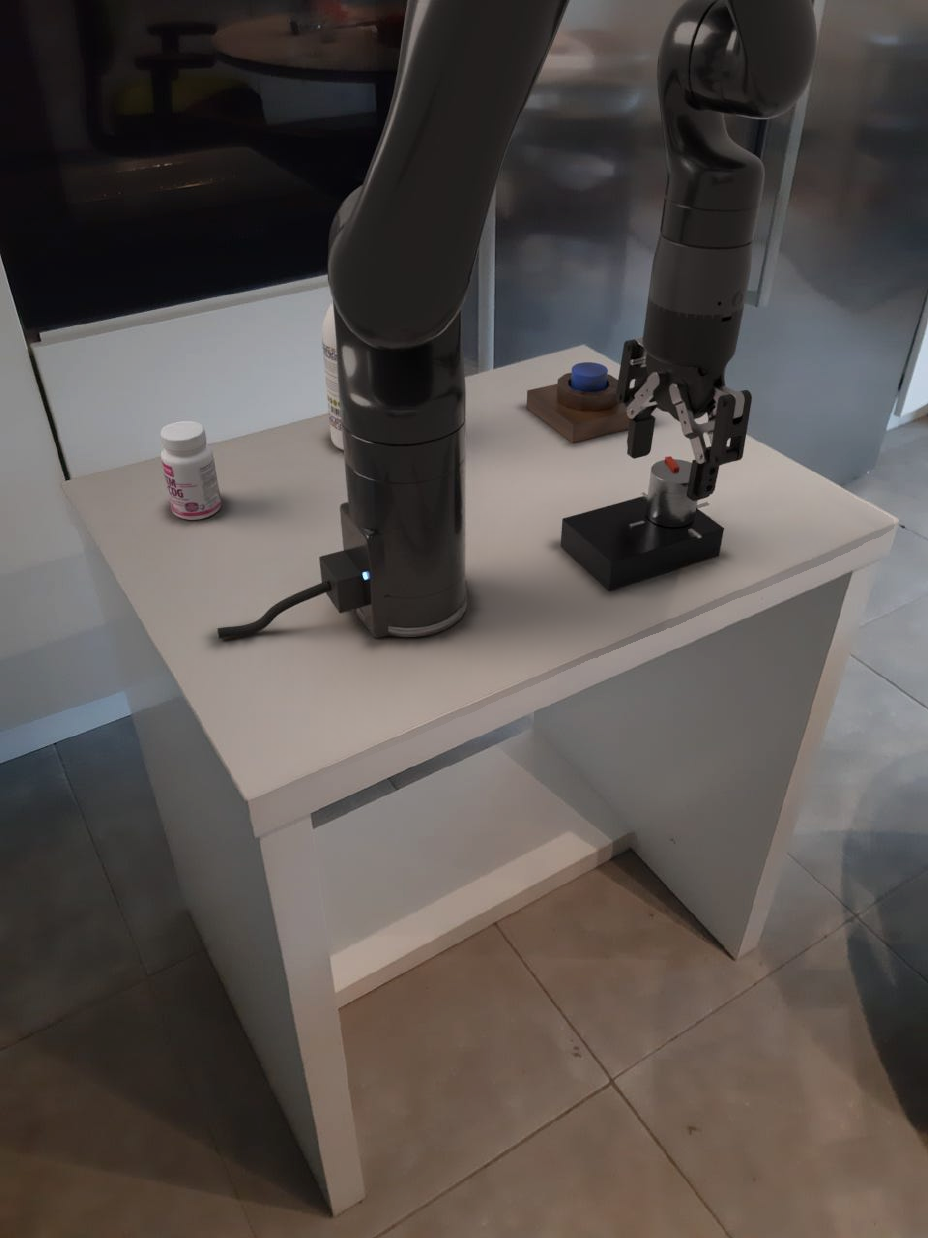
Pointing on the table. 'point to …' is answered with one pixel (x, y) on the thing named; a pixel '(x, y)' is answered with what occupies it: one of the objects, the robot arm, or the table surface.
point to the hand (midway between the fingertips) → (667, 475)
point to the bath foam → (332, 377)
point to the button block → (579, 409)
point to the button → (589, 377)
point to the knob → (670, 494)
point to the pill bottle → (189, 471)
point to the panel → (636, 542)
